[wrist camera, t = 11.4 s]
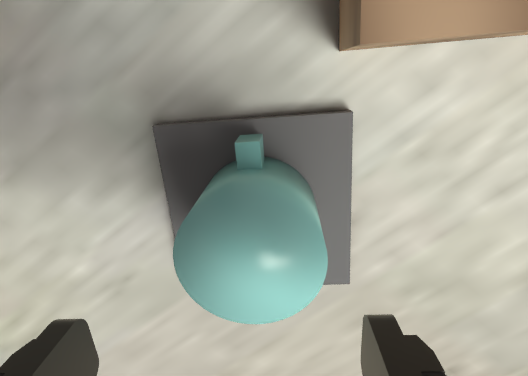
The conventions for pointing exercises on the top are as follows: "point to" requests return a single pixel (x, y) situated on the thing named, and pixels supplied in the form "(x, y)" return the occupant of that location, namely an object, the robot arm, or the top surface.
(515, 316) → the top surface
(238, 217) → the teal rounded tabbed figurine
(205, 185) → the coaster
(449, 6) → the post block
